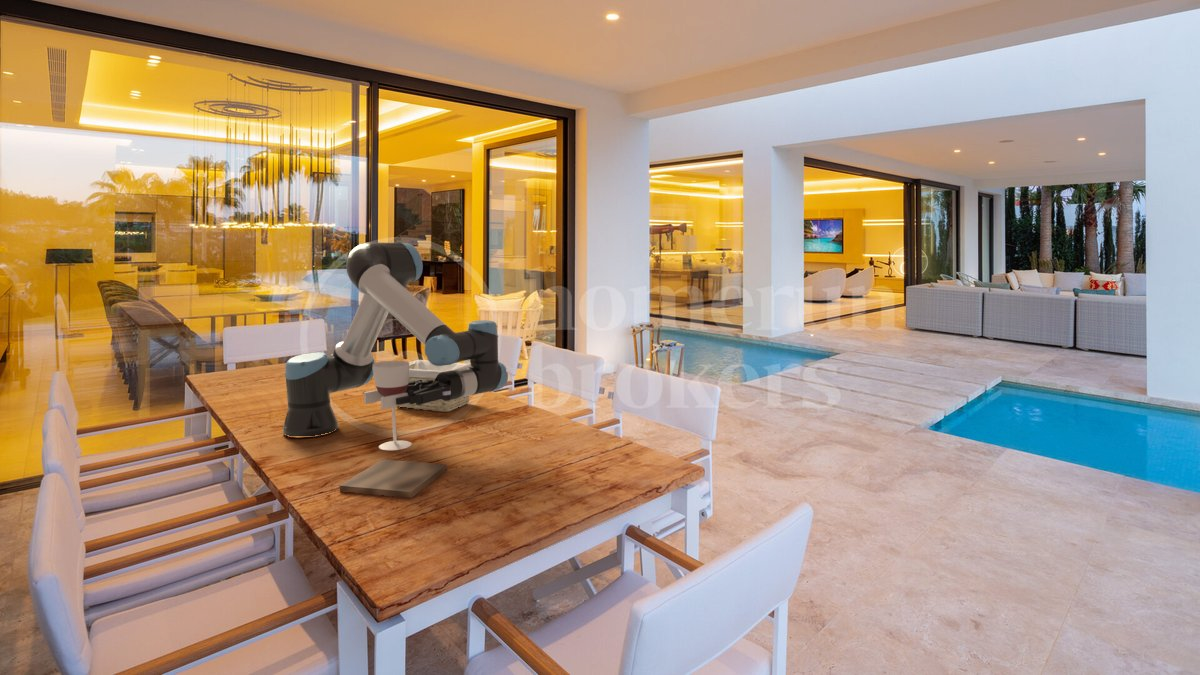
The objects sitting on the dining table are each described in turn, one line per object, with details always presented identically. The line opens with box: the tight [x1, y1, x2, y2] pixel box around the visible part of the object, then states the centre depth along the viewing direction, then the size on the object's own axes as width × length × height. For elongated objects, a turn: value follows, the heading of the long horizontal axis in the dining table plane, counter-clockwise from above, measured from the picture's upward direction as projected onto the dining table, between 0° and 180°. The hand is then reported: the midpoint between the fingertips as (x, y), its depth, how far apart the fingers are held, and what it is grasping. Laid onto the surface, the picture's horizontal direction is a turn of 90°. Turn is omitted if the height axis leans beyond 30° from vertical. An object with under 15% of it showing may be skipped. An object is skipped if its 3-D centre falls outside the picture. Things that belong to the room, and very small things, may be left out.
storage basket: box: [402, 359, 471, 413], centre depth 220 cm, size 24×16×15 cm
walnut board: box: [339, 458, 448, 499], centre depth 151 cm, size 18×18×2 cm
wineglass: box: [373, 360, 412, 451], centre depth 150 cm, size 8×9×20 cm
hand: (373, 400), depth 146 cm, fingers closed on wineglass, 7 cm apart
